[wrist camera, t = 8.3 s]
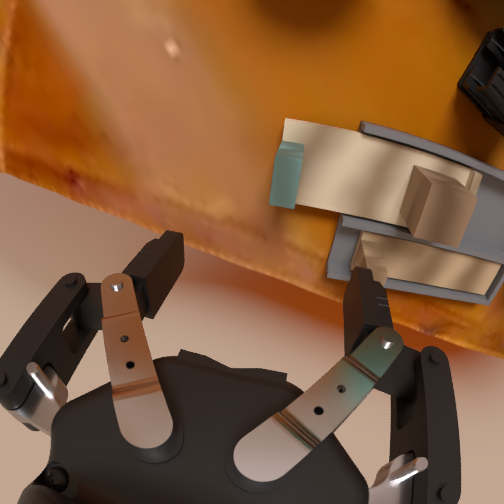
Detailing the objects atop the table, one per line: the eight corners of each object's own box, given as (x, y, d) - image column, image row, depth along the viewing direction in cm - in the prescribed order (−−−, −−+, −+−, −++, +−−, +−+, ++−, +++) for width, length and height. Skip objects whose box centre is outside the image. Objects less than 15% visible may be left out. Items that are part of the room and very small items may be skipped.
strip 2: (498, 259, 27) (520, 292, 22) (481, 290, 30) (498, 324, 25) (362, 226, 29) (371, 262, 24) (349, 264, 32) (354, 304, 27)
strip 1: (473, 168, 23) (505, 193, 18) (449, 234, 27) (471, 268, 22) (286, 118, 25) (278, 129, 20) (275, 196, 29) (265, 226, 24)
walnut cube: (455, 178, 23) (477, 198, 19) (440, 222, 26) (457, 248, 22) (413, 164, 24) (432, 183, 20) (399, 211, 26) (413, 237, 22)
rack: (533, 186, 22) (543, 194, 20) (482, 293, 31) (488, 305, 29) (360, 120, 24) (365, 124, 22) (326, 264, 34) (326, 277, 32)
